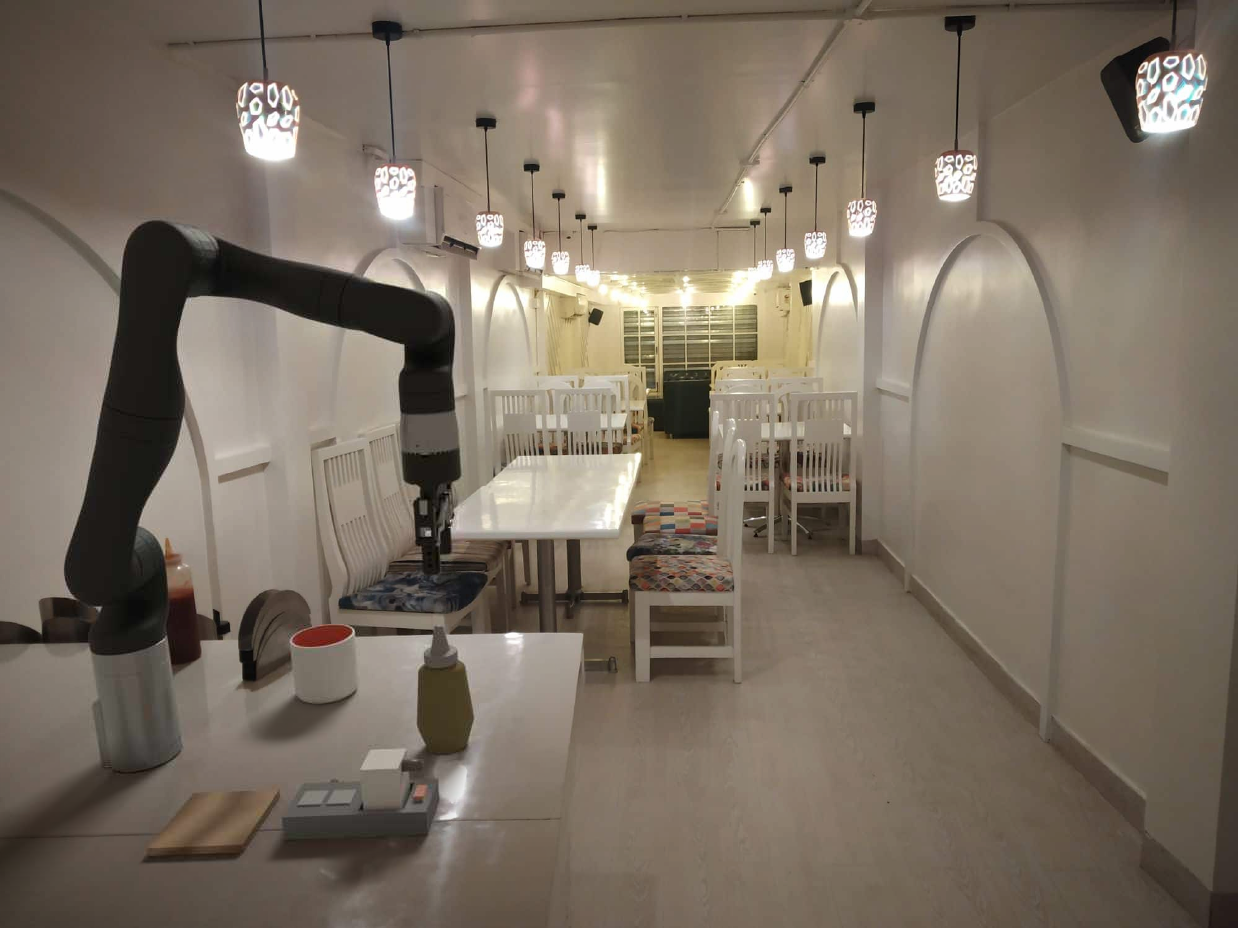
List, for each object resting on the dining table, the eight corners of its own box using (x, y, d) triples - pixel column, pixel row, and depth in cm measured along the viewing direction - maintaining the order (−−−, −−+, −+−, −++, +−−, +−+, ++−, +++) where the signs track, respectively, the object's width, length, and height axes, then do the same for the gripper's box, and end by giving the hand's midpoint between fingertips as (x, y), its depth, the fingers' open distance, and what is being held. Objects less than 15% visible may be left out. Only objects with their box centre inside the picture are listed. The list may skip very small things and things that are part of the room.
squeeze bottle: (463, 762, 113) (454, 639, 109) (408, 757, 114) (398, 636, 111) (484, 732, 120) (476, 617, 117) (433, 728, 122) (424, 614, 119)
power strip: (284, 839, 97) (281, 812, 96) (317, 785, 108) (314, 760, 107) (427, 834, 97) (425, 807, 97) (445, 780, 108) (443, 755, 108)
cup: (299, 712, 128) (293, 652, 126) (292, 687, 137) (286, 631, 135) (365, 697, 133) (359, 639, 131) (354, 674, 141) (348, 619, 139)
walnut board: (148, 855, 95) (147, 848, 95) (194, 799, 106) (193, 792, 105) (243, 852, 95) (242, 844, 95) (280, 796, 106) (279, 789, 106)
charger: (364, 822, 98) (359, 769, 97) (375, 800, 103) (370, 749, 101) (421, 820, 98) (417, 767, 97) (429, 798, 103) (425, 747, 101)
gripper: (413, 437, 114) (421, 549, 117) (388, 455, 100) (398, 582, 103) (467, 436, 114) (473, 547, 117) (449, 454, 100) (457, 580, 103)
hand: (438, 563), depth 110 cm, fingers open, 8 cm apart
